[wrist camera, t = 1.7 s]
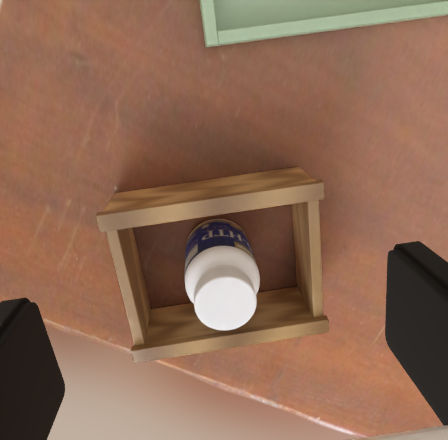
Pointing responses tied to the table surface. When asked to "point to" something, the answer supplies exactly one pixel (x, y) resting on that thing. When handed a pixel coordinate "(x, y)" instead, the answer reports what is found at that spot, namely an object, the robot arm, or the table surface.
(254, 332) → the wooden box
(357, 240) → the table surface
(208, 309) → the pill bottle
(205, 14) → the tray
